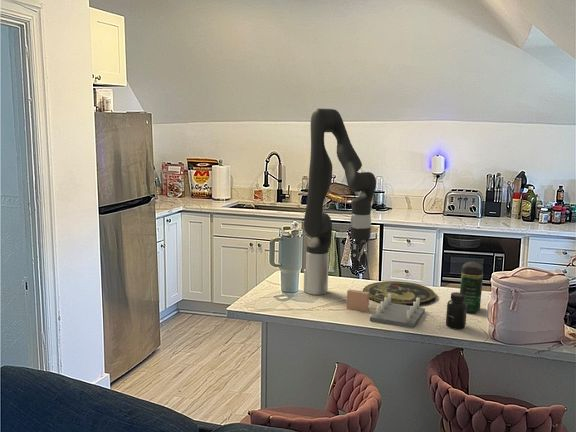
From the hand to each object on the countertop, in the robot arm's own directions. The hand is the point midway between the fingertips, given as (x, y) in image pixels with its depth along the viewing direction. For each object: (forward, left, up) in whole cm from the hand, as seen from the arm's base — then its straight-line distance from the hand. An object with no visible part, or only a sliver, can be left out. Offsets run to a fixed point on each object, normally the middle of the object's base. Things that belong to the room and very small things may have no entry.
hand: (359, 267), depth 226 cm
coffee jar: (+39, +19, -17) cm, 46 cm away
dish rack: (+16, -1, -16) cm, 23 cm away
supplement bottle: (+37, -2, -17) cm, 41 cm away
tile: (0, 0, -16) cm, 16 cm away
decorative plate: (+10, +25, -17) cm, 32 cm away
